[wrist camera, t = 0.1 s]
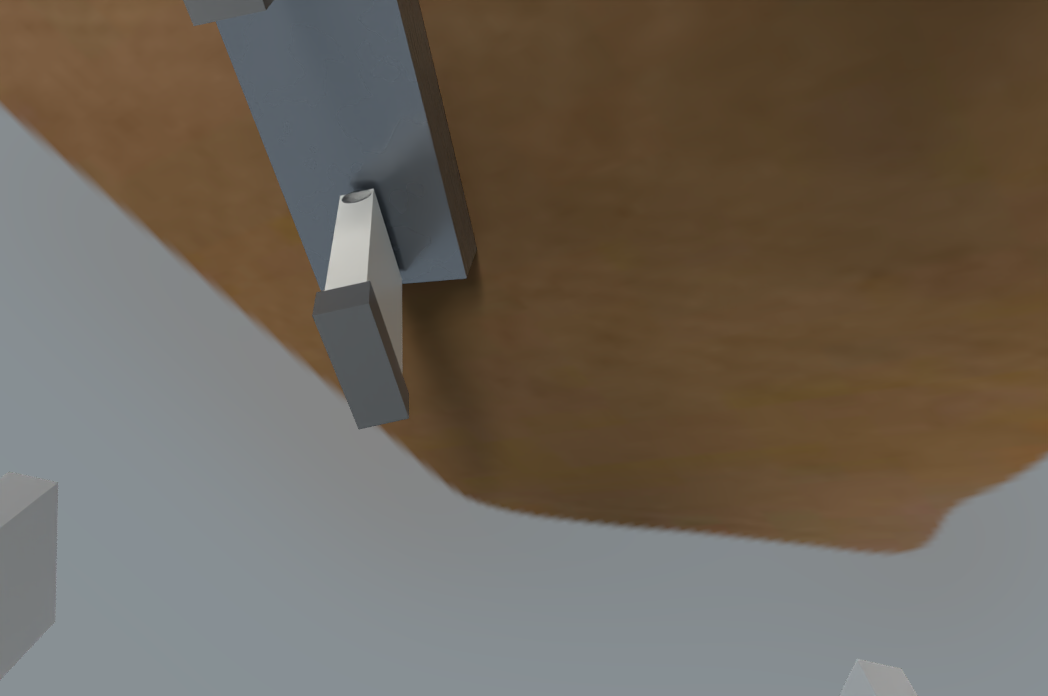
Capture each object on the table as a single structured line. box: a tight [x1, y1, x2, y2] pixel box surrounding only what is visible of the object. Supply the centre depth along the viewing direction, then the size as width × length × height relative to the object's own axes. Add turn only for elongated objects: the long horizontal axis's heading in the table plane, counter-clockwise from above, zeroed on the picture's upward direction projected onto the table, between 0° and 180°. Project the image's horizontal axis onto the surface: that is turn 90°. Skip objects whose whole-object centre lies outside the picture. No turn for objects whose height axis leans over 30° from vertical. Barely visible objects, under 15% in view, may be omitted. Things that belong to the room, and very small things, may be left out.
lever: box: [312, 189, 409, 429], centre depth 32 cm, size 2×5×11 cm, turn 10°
